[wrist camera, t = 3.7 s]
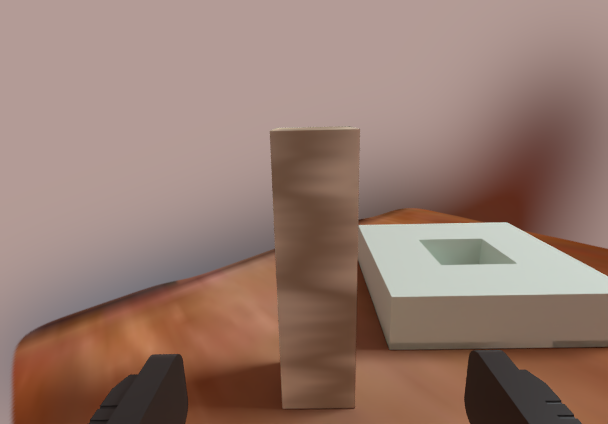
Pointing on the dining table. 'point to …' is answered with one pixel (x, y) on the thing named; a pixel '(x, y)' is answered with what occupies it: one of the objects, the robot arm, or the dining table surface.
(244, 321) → the dining table surface
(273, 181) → the peg
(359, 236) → the socket block
